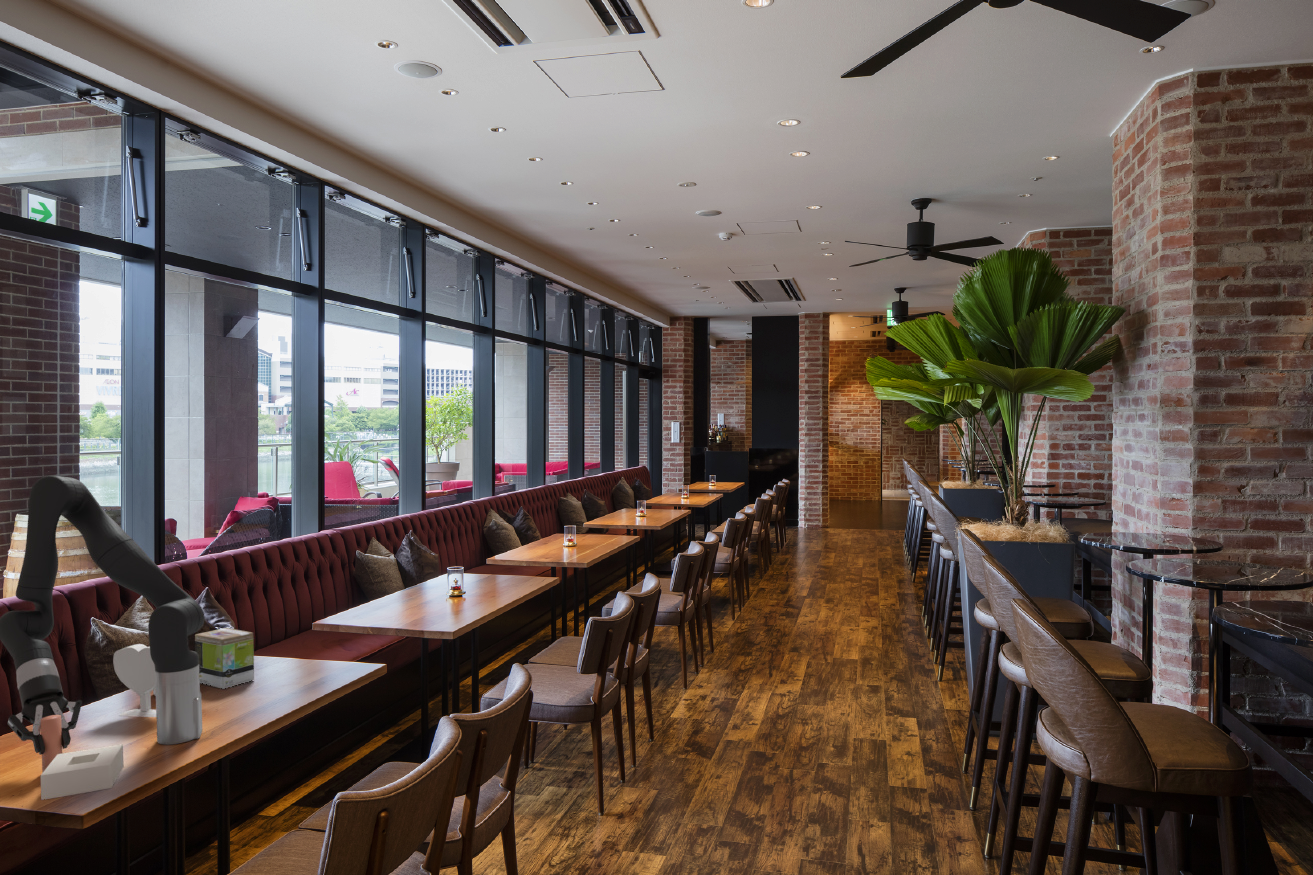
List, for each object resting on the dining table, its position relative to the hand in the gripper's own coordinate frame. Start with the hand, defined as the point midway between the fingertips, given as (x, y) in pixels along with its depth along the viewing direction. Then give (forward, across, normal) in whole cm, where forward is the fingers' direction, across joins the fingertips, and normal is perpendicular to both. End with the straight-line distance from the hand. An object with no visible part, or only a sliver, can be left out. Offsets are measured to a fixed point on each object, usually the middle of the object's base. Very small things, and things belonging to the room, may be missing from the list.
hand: (54, 748), depth 175 cm
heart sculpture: (-16, +26, +24) cm, 39 cm away
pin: (+2, 0, +5) cm, 6 cm away
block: (+11, +3, -4) cm, 12 cm away
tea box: (-25, +50, +33) cm, 64 cm away
